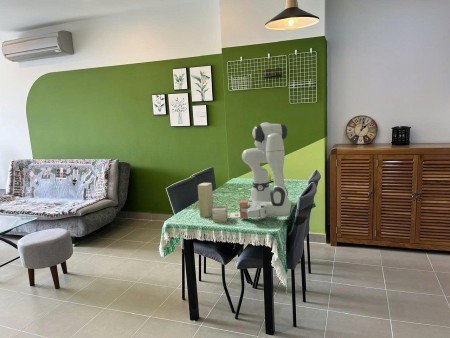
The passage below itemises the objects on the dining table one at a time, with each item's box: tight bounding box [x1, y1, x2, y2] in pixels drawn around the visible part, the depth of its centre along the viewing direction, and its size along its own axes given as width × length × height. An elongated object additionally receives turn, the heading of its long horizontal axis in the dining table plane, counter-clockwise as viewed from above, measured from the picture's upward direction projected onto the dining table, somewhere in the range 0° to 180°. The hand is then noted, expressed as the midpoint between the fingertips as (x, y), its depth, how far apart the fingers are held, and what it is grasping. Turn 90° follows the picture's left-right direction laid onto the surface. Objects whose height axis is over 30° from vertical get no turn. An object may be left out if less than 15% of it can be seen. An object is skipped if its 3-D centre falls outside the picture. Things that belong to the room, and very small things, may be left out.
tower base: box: [212, 205, 229, 223], centre depth 211 cm, size 8×8×8 cm
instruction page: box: [229, 211, 241, 219], centre depth 219 cm, size 10×8×1 cm
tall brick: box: [239, 199, 249, 219], centre depth 209 cm, size 4×4×10 cm
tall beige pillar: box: [197, 182, 214, 218], centre depth 220 cm, size 8×7×21 cm
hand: (242, 208), depth 209 cm, fingers closed on tall brick, 5 cm apart
